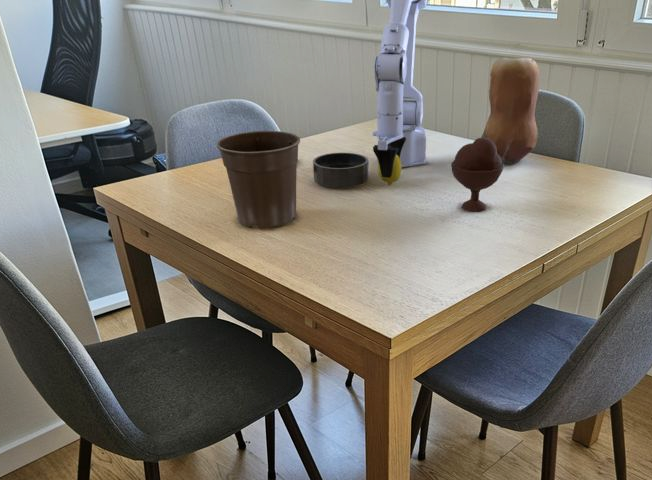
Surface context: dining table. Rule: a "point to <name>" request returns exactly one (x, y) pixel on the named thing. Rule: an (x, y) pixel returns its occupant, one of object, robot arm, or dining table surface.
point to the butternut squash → (513, 107)
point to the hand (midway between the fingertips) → (389, 173)
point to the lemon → (395, 172)
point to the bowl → (341, 170)
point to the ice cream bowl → (477, 170)
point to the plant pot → (262, 176)
